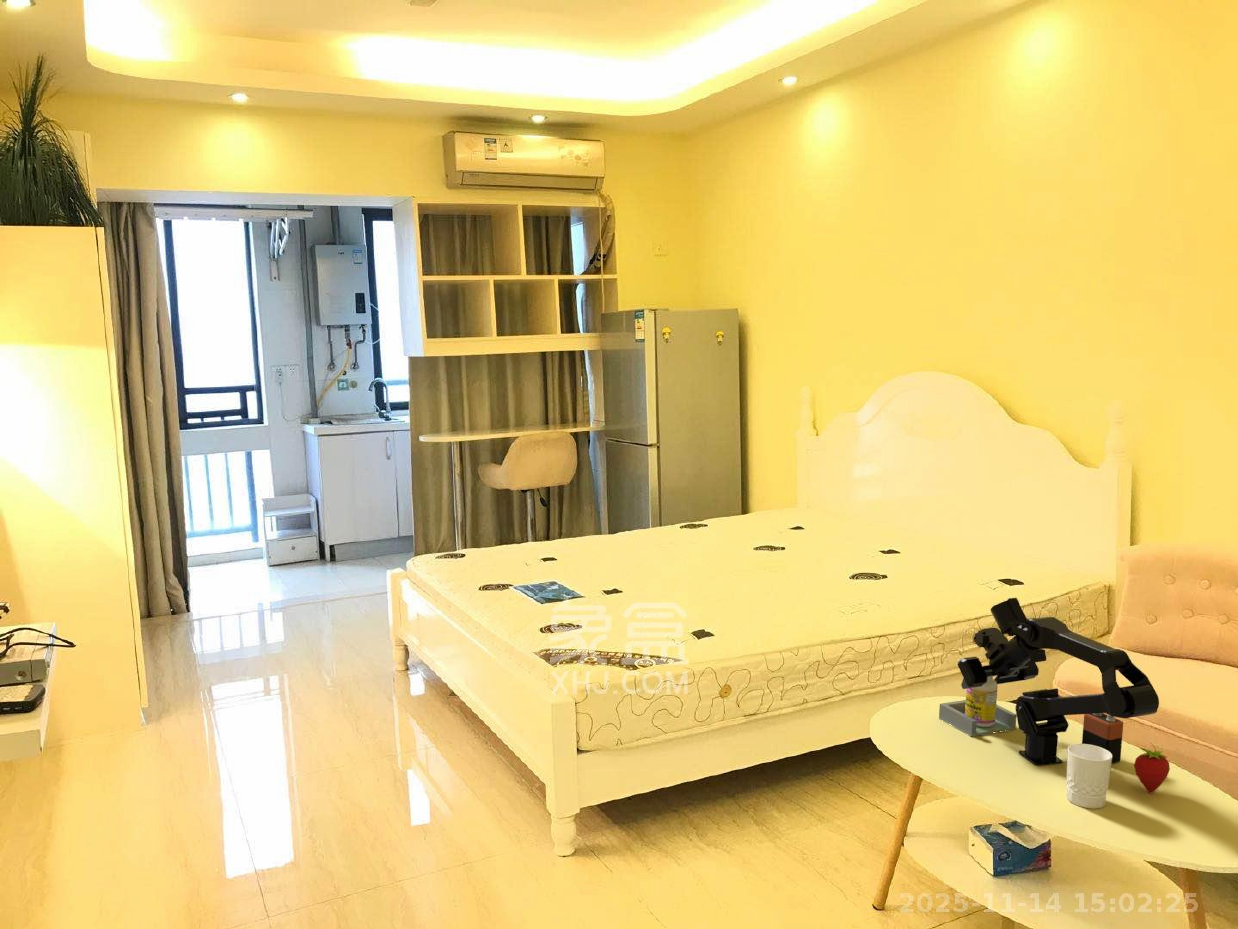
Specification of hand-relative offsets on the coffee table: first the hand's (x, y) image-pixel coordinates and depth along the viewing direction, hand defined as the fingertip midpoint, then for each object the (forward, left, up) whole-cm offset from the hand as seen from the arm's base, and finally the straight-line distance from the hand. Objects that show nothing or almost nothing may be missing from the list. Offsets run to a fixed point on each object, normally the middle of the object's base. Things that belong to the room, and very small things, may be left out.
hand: (978, 684), depth 234 cm
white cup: (-39, 0, -10) cm, 40 cm away
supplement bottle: (-1, 0, -9) cm, 9 cm away
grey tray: (-1, 0, -9) cm, 9 cm away
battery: (-22, -16, -10) cm, 29 cm away
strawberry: (-38, -15, -10) cm, 42 cm away
